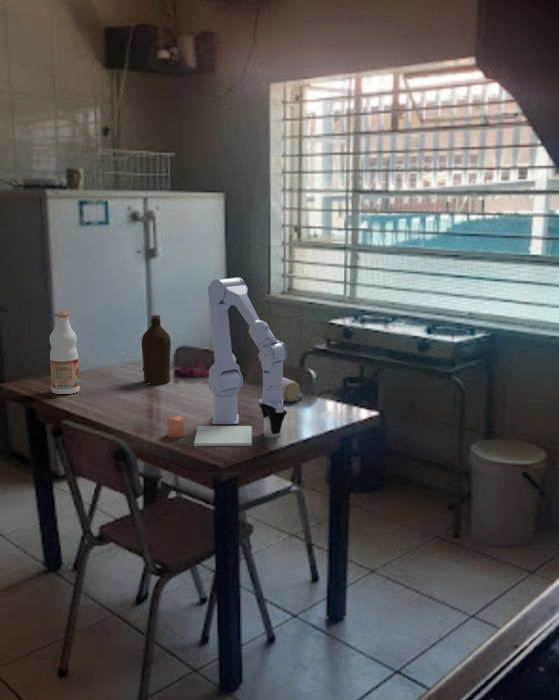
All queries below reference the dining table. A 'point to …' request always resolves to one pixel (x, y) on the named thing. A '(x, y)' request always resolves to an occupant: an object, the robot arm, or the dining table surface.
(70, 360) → the fruit juice
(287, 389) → the ceramic mug
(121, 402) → the dining table surface
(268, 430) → the off-white rounded cylinder
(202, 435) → the baseplate
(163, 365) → the olive oil
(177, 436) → the pink rounded piece
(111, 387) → the dining table surface
